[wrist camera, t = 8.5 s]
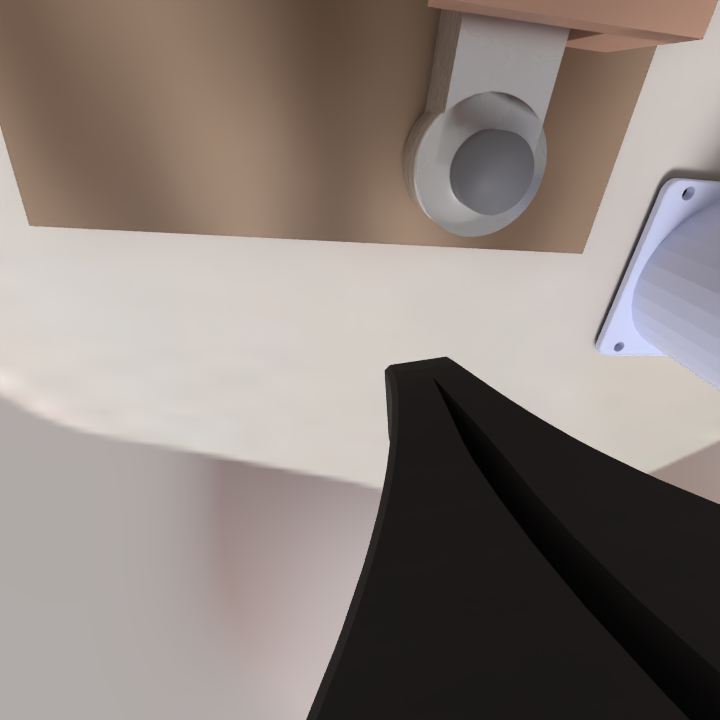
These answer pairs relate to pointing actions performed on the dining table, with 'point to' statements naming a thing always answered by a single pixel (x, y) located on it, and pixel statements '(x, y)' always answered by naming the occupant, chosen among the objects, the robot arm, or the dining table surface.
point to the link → (481, 108)
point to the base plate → (271, 120)
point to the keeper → (587, 31)
